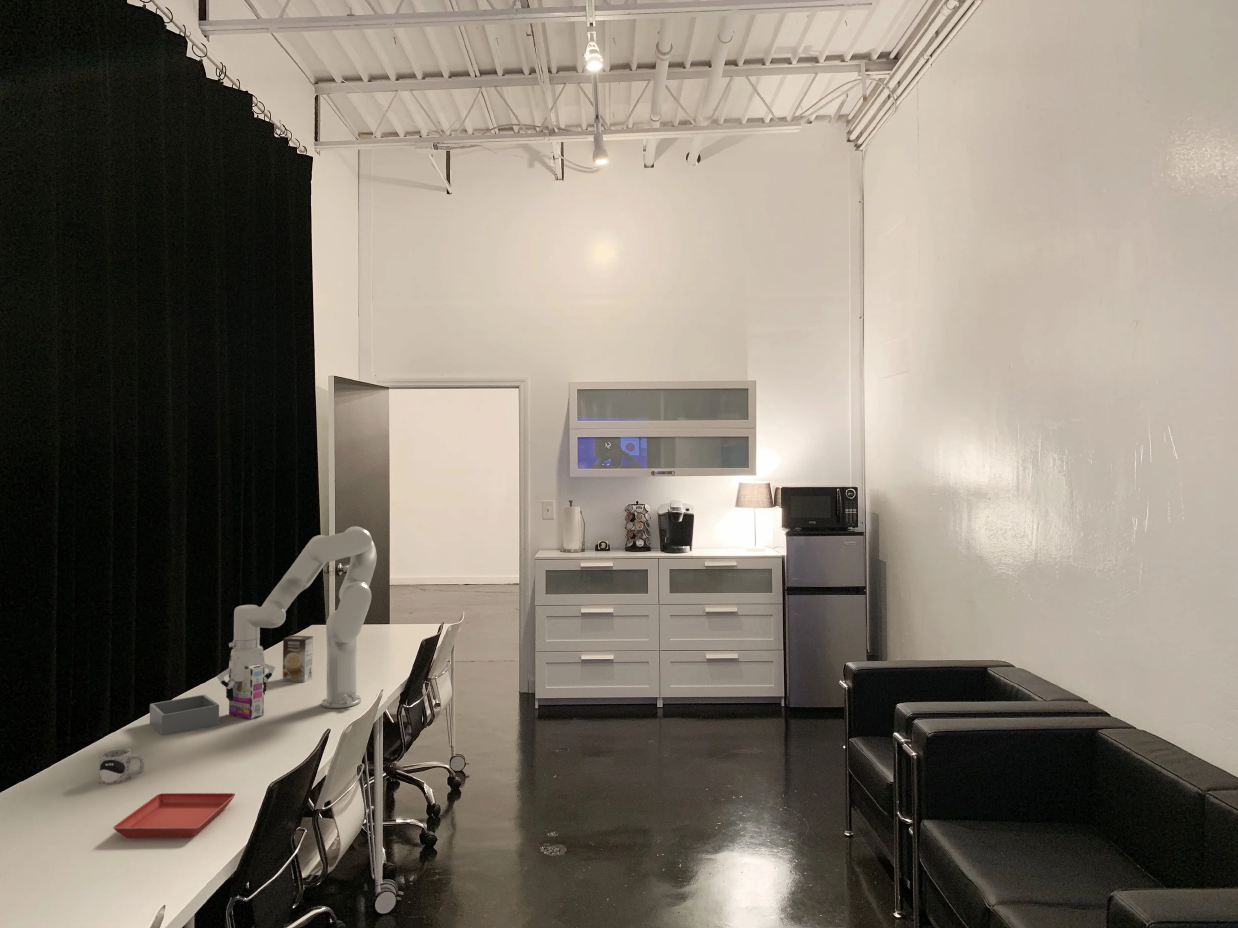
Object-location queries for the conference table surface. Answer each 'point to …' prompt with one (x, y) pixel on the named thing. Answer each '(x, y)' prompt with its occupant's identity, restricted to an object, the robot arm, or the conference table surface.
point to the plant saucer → (174, 815)
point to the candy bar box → (249, 694)
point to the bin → (184, 714)
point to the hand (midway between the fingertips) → (246, 696)
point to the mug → (117, 766)
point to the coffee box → (297, 658)
